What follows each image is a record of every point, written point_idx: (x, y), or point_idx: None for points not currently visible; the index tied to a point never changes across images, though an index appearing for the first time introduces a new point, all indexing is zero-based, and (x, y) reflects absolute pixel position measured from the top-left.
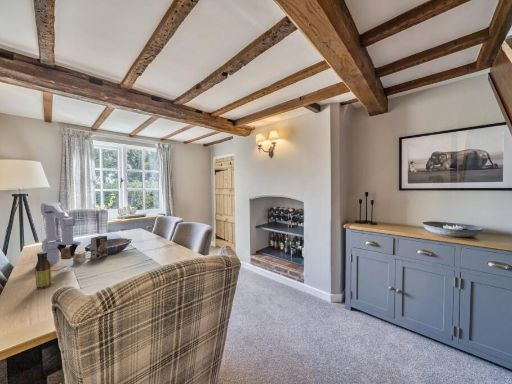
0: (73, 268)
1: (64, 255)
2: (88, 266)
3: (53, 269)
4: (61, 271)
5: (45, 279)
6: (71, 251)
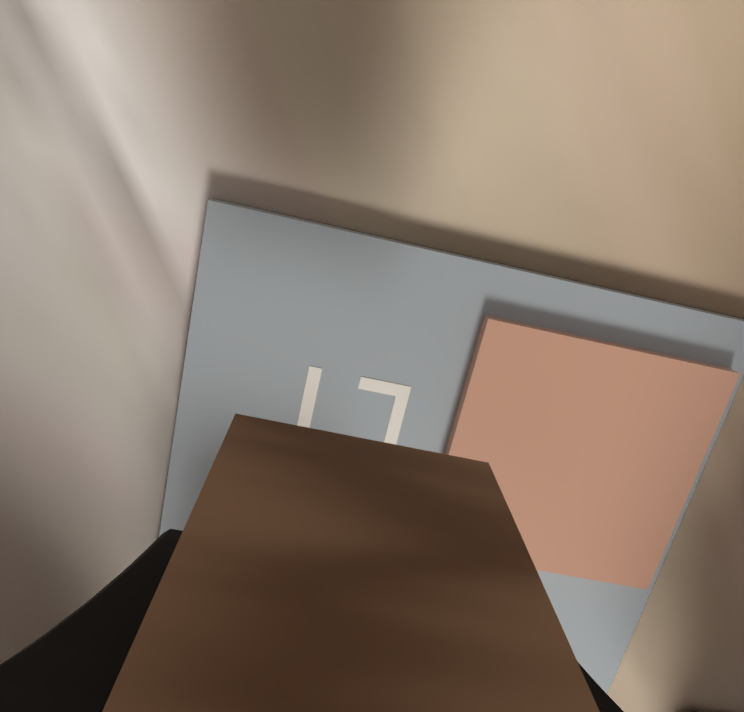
0: (231, 373)
1: (394, 515)
2: (10, 456)
3: (590, 388)
4: (398, 255)
5: None
6: (87, 635)
